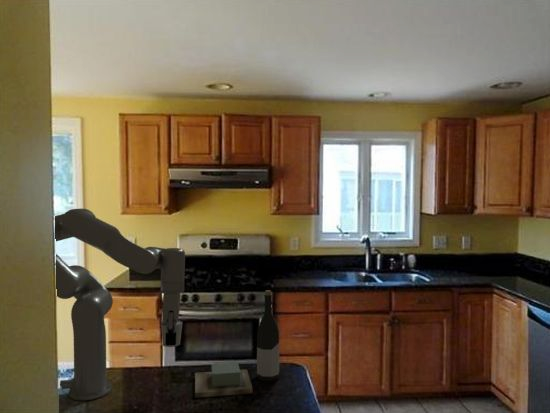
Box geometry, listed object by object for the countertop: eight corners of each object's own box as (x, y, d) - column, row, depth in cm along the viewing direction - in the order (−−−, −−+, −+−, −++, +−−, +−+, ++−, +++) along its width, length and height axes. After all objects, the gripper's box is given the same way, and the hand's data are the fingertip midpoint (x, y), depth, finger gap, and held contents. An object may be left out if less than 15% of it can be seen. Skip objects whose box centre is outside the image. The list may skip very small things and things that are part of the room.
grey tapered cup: (183, 340, 145) (184, 320, 145) (179, 347, 139) (180, 325, 139) (163, 340, 145) (163, 319, 145) (158, 347, 138) (158, 325, 138)
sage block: (212, 386, 140) (212, 374, 140) (211, 375, 149) (211, 363, 149) (240, 384, 142) (240, 372, 142) (237, 373, 150) (237, 362, 150)
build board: (195, 397, 136) (195, 392, 136) (195, 377, 151) (195, 372, 151) (252, 393, 139) (252, 388, 139) (246, 373, 155) (246, 368, 155)
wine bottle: (263, 370, 157) (263, 287, 157) (283, 374, 154) (283, 289, 153) (252, 378, 150) (252, 291, 150) (273, 383, 146) (273, 294, 146)
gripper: (162, 281, 149) (161, 333, 150) (158, 292, 133) (157, 351, 133) (185, 281, 151) (183, 333, 151) (183, 291, 134) (182, 350, 134)
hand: (171, 341), depth 142 cm, fingers closed on grey tapered cup, 5 cm apart
